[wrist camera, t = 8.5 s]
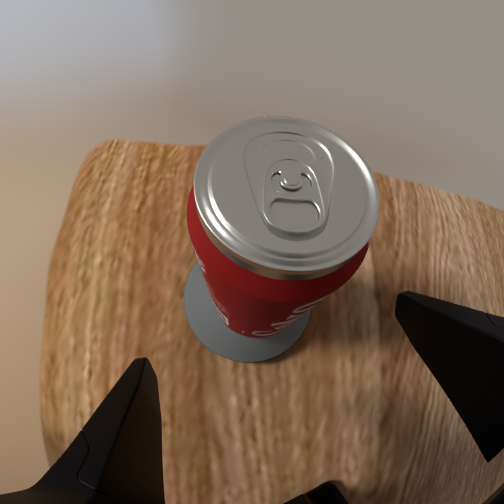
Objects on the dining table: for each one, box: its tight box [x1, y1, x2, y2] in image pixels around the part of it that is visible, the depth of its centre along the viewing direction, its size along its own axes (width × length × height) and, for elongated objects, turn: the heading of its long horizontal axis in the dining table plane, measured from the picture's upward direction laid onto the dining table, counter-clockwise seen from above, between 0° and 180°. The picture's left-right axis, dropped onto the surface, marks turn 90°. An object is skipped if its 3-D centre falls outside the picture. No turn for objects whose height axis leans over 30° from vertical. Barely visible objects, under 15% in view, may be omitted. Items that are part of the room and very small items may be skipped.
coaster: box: [184, 262, 311, 362], centre depth 18 cm, size 8×8×1 cm
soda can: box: [187, 116, 380, 338], centre depth 12 cm, size 5×5×12 cm
